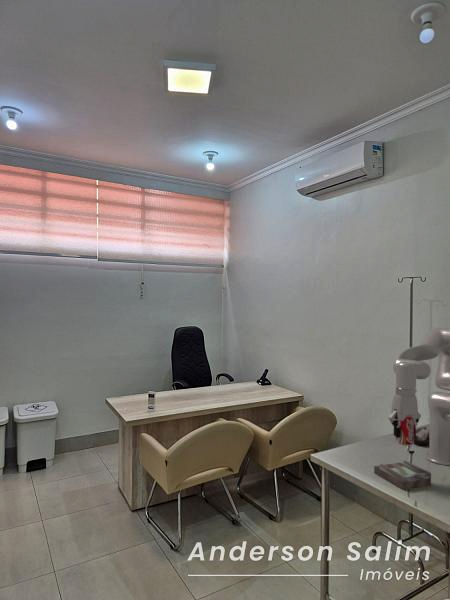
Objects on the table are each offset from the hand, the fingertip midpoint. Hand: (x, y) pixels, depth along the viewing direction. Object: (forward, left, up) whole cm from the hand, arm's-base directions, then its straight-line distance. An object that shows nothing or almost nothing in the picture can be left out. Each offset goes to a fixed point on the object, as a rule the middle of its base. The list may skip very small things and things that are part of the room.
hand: (404, 435), depth 161 cm
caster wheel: (-45, -32, -19) cm, 58 cm away
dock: (0, -1, -18) cm, 18 cm away
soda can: (0, 0, -4) cm, 4 cm away
